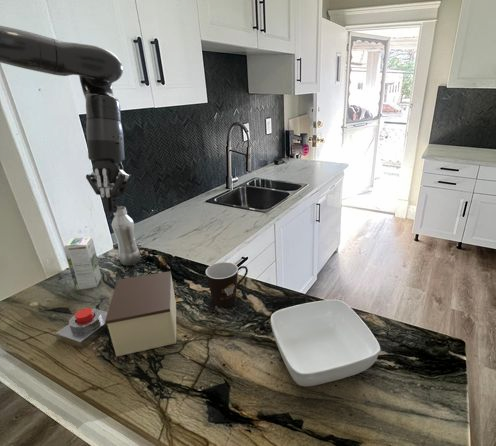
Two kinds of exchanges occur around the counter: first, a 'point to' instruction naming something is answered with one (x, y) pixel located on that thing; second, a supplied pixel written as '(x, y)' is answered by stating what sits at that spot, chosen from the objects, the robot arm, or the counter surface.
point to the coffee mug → (223, 282)
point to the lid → (140, 297)
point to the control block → (83, 330)
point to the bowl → (323, 341)
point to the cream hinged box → (145, 331)
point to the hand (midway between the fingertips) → (110, 212)
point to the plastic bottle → (125, 237)
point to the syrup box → (83, 262)
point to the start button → (84, 316)
